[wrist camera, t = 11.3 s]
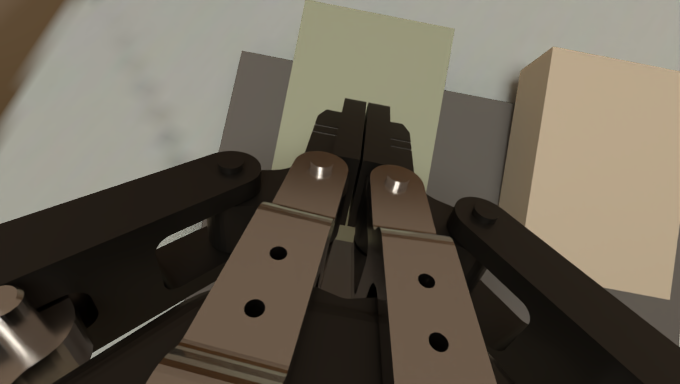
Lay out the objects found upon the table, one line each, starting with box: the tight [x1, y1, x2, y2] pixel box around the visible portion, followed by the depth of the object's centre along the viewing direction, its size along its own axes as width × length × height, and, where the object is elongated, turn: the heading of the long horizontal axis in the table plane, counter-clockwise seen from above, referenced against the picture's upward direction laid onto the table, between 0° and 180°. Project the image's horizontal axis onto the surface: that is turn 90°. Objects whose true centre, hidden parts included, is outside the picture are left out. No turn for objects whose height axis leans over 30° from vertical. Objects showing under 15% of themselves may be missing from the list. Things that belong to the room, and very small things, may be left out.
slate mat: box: [185, 51, 680, 346], centre depth 16 cm, size 22×16×1 cm
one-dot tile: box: [271, 0, 455, 243], centre depth 15 cm, size 6×3×9 cm
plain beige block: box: [499, 47, 680, 300], centre depth 15 cm, size 6×3×9 cm
